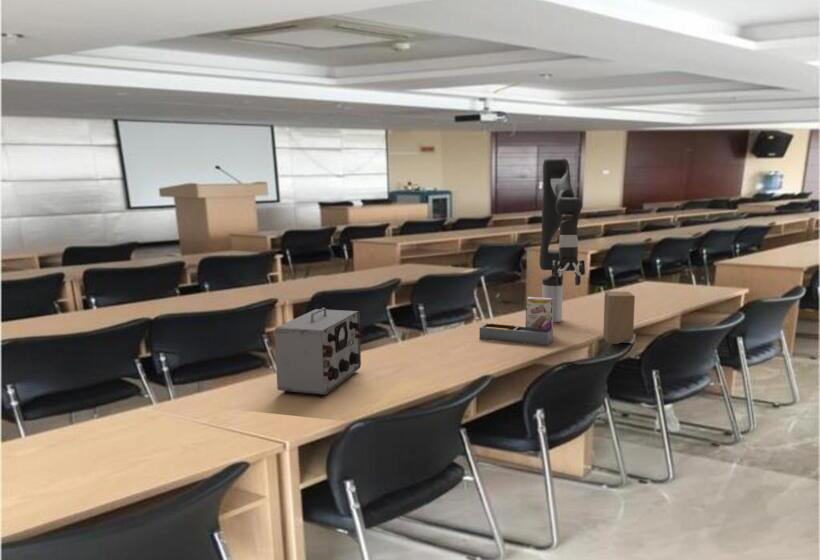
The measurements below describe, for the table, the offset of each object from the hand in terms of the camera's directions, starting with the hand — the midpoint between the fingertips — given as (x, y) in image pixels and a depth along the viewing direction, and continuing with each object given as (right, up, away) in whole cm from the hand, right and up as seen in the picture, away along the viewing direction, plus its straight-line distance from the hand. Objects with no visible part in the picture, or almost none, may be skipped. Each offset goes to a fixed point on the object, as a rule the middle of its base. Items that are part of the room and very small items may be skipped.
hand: (568, 285), depth 275 cm
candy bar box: (-10, -22, +10) cm, 26 cm away
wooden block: (+20, -23, -1) cm, 31 cm away
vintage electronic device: (-94, -33, -50) cm, 112 cm away
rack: (-21, -23, +3) cm, 31 cm away
